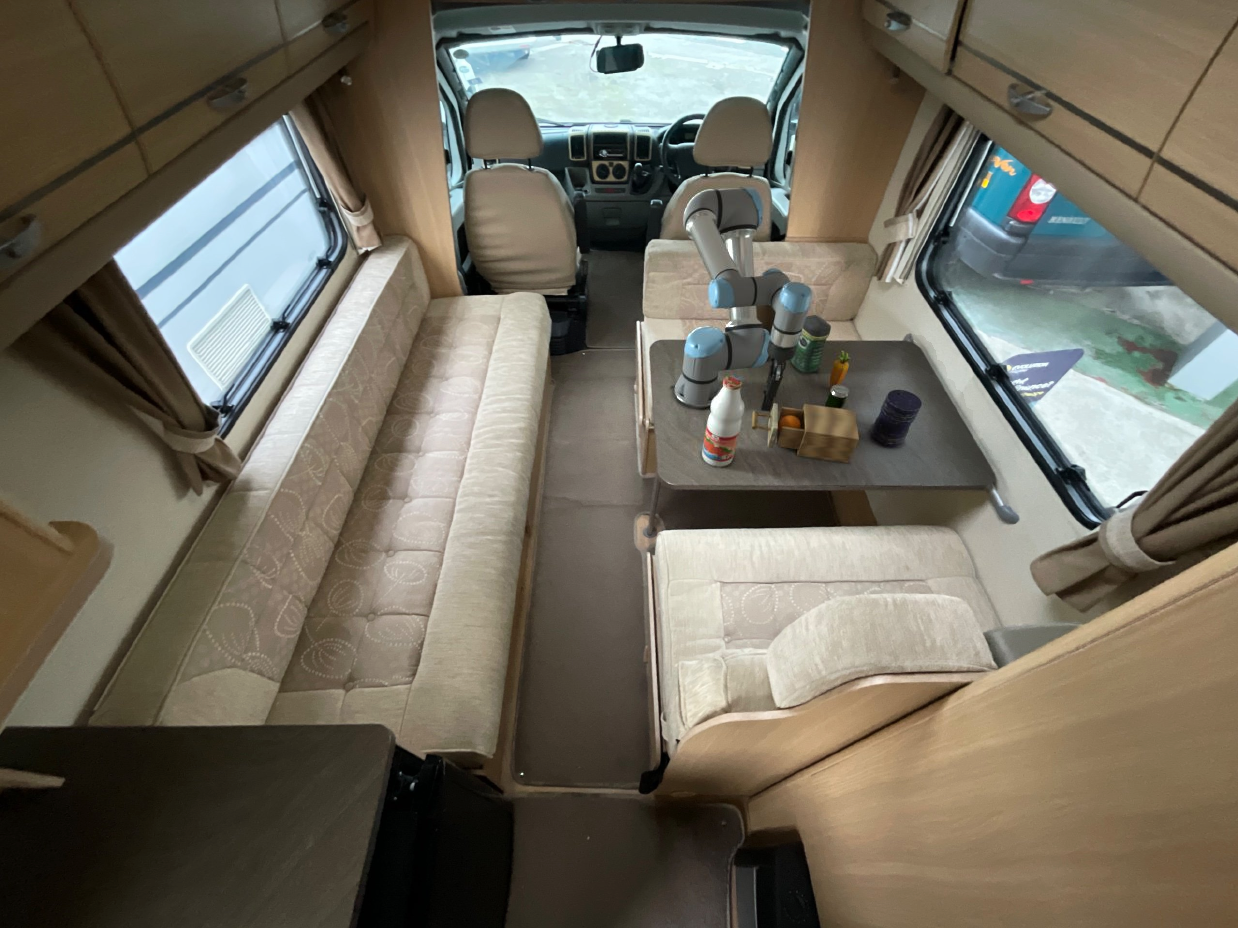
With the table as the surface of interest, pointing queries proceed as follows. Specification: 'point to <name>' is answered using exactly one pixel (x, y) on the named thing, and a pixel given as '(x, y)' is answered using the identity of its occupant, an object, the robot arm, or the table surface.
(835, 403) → the beer can
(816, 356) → the coffee jar
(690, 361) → the robot arm
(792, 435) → the drawer
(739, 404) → the fruit juice
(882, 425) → the storage jar
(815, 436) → the cabinet
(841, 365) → the carrot
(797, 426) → the orange
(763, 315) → the olive oil
